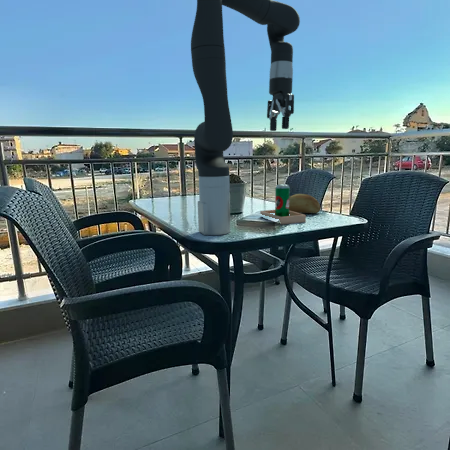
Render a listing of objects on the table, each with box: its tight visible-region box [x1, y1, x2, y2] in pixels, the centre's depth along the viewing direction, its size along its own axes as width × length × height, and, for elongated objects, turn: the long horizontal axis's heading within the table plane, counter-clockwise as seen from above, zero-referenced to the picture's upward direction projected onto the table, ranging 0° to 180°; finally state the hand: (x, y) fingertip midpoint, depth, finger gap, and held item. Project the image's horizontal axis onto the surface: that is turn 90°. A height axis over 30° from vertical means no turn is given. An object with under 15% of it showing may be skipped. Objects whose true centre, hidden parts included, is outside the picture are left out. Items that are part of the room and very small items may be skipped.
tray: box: [259, 209, 307, 225], centre depth 117 cm, size 10×15×2 cm, turn 21°
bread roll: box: [289, 193, 321, 214], centre depth 128 cm, size 10×15×8 cm, turn 81°
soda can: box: [274, 184, 291, 217], centre depth 116 cm, size 5×5×12 cm
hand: (278, 129), depth 109 cm, fingers open, 8 cm apart
